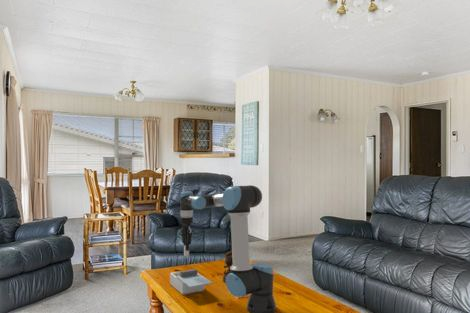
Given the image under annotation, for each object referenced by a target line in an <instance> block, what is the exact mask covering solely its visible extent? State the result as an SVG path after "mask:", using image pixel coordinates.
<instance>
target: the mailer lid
mask: <svg viewBox="0 0 470 313" xmlns="http://www.w3.org/2000/svg"><path fill="white" fill-rule="evenodd" d="M179 272H180V276H176V277H177V278H178V279H179V280H180V281H182V282H183V283H184V284H186V285H187V286H188V287H190V288H192V287H197V286H202V285H205V286H207V285H211V284H213V282H212V281H211V280H209V279H208V278H206V277H205V276H203V275H202V274H201V273H199V272H198V269H196V268H194V269H187V270H182V271H179Z"/></svg>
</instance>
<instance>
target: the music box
mask: <svg viewBox="0 0 470 313" xmlns="http://www.w3.org/2000/svg"><path fill="white" fill-rule="evenodd" d="M221 256H222V257H225V259H224V264H225V265H224V266H223V268H224V271H223V275H222V282H223V283H225V284H226V277H227V275H228V274H229V273H230V267H231V266H232V265H233V258H232V249H231V250H230V251H227V252H226V253H225V254H222V255H221ZM227 268H228V269H227Z"/></svg>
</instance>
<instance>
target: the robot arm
mask: <svg viewBox="0 0 470 313" xmlns="http://www.w3.org/2000/svg"><path fill="white" fill-rule="evenodd" d="M193 193H194V192H193V191H181V192H180V200H179V201H180V203H179V204H180V211H179V214H180V224H182V226H180V230H181V241H182V242H181V243H182V244H183V256H184V257H188V256H190V245H192V236H193V231H194V230H193V229H192V227H191V224H193V222H194V210H203V209H206V208H218V207H223V209H225V210H226V212H227V214H228V215H229V217H230V233H231V250H232V255H231V256H232V258H233V265H232V266H230V273H229V274H228V275H227V277H226V283H225V286H226V288H227V291H228V292H229V293H230V295H231V296H233V297H234V298H239V297H245V296H247V295H249V297H248V301H247V304H246V309H247V311H248V312H250V313H276V310H277V304H276V301H275V297H274V268H273V267H272V265H269V264H267V263H261V262H253V263H251V261H250V260H251V259H250V242H249V223H248V218H249V217H248V215H249V214H250V213H251V208H252V209H253V208H255V207H257V206H259V205H260V204H261V202H262V201H263V200H262V199H263V194H262V191H261V189H260V188H259V187H257V186H255V185H234V186H233V185H232V186H228V187H227V188H226V189H225V190H224V191H223V193H216V194H206V195H194V194H193Z"/></svg>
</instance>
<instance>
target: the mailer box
mask: <svg viewBox="0 0 470 313" xmlns="http://www.w3.org/2000/svg"><path fill="white" fill-rule="evenodd" d="M176 276H180V271H175V272H170V273H169V285H170V286H171V285H172V286H173V287H172V286H171V287H172V288H174V289H175V290H176V291H177V292H178V293H180V294H181V295H182V296H185V295H188V294H189V295H190V294H194V293H200V292H205V288H206V285H202V286H197V287H192V288H190V287H188V286H187V285H186V284H184V283H183V282H182V281H180V280H179V279H178V278H177V277H176Z"/></svg>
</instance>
